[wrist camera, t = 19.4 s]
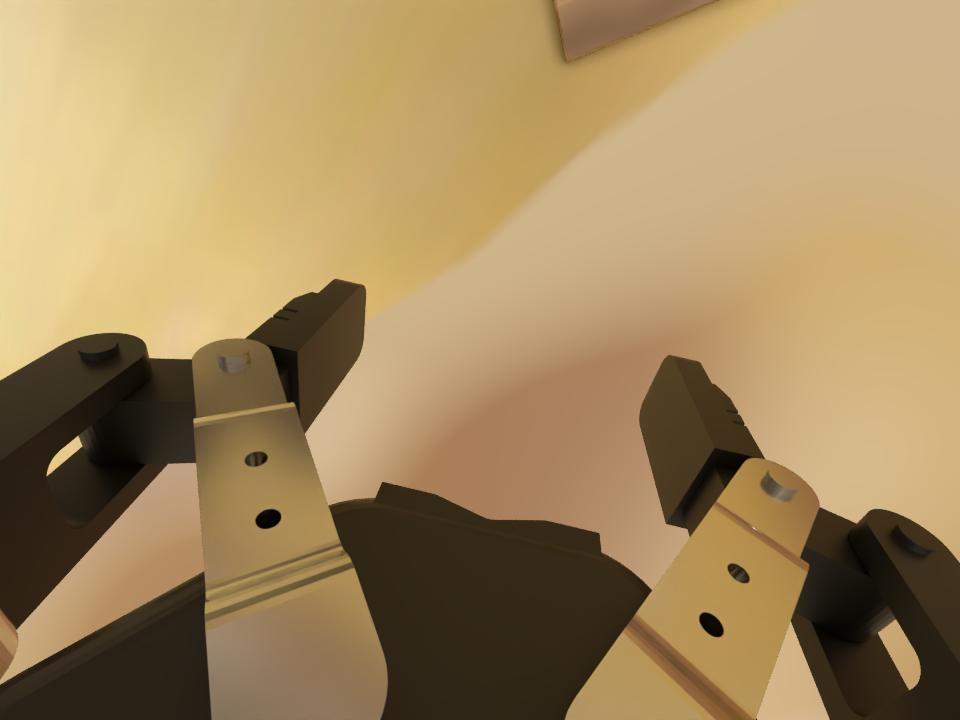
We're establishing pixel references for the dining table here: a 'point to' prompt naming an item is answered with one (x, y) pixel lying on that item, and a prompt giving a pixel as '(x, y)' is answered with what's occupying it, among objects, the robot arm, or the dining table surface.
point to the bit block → (613, 20)
